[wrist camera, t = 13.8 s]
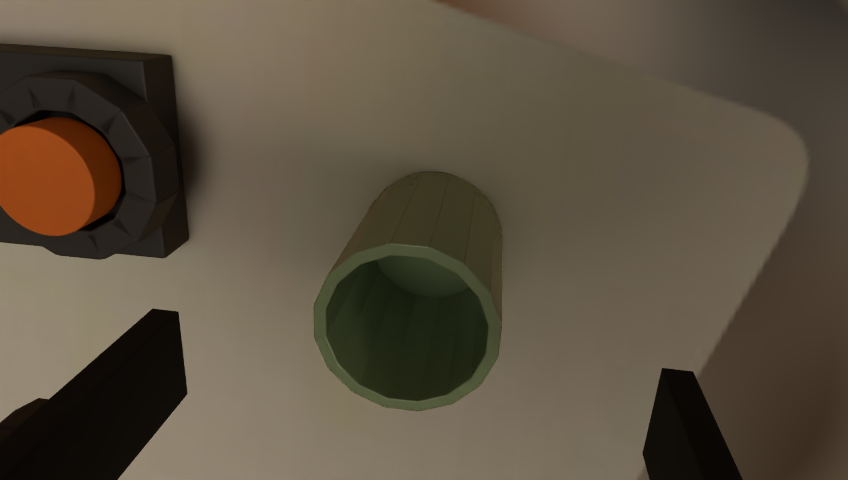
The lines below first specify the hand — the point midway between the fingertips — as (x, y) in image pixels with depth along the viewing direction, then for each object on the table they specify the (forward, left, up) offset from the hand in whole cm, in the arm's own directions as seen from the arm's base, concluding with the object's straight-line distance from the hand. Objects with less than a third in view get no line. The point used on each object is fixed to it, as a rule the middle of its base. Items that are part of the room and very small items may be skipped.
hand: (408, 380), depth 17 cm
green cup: (0, 0, -10) cm, 10 cm away
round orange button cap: (+14, -3, -7) cm, 16 cm away
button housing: (+16, -3, -10) cm, 20 cm away
